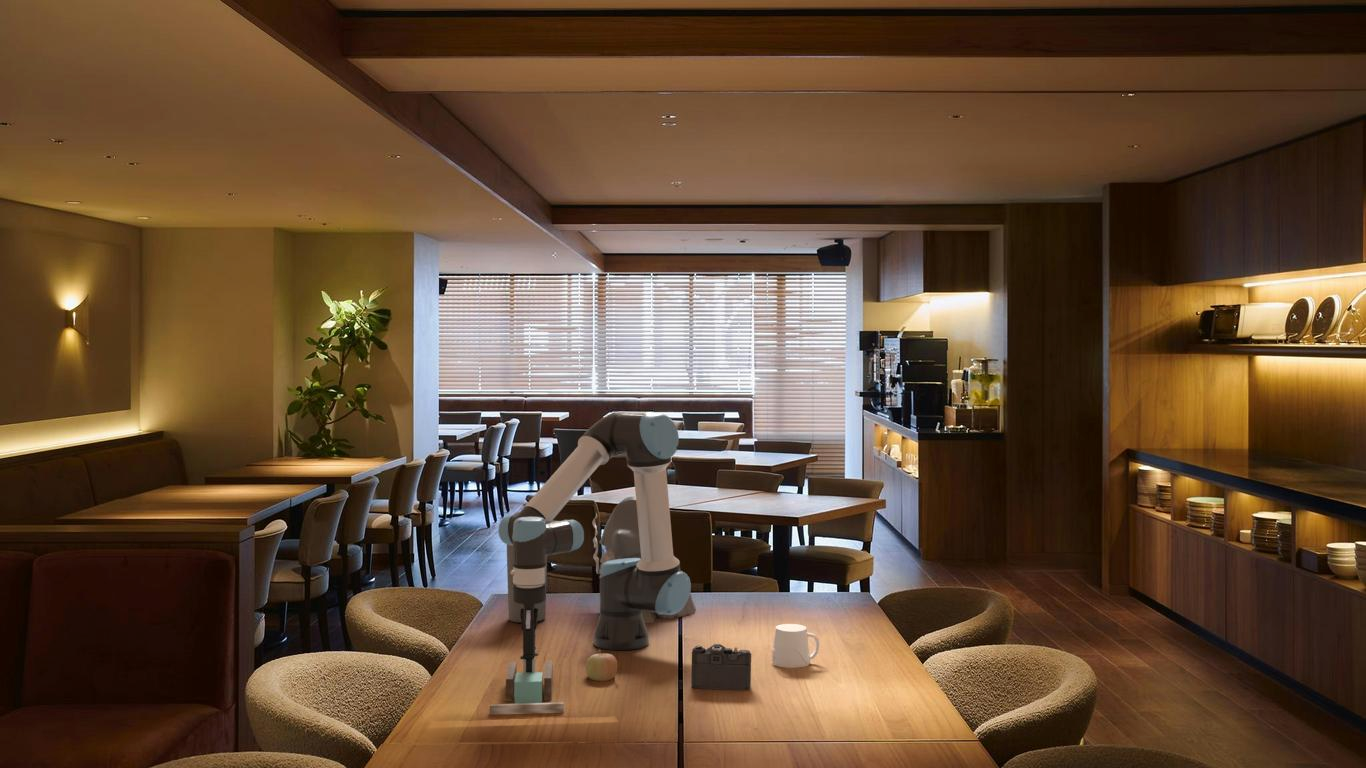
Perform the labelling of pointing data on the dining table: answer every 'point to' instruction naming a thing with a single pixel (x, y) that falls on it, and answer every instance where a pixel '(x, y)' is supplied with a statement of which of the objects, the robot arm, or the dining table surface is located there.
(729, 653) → the camera
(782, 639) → the mug
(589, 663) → the fruit
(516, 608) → the canister
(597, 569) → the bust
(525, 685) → the block
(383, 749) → the dining table surface
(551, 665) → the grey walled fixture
